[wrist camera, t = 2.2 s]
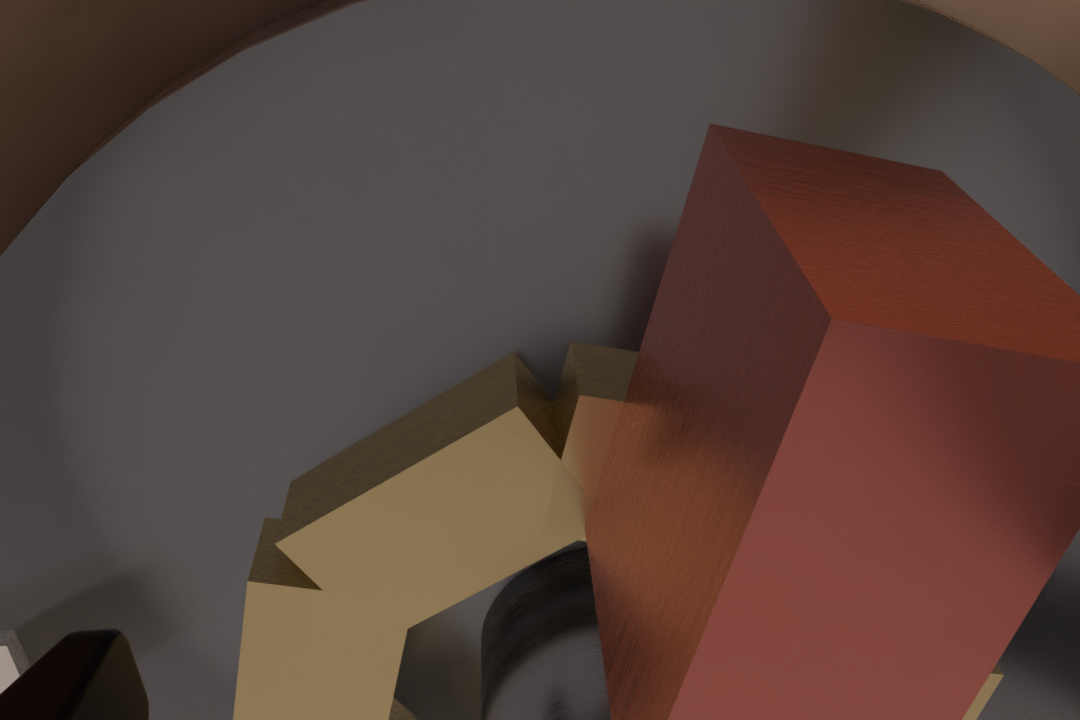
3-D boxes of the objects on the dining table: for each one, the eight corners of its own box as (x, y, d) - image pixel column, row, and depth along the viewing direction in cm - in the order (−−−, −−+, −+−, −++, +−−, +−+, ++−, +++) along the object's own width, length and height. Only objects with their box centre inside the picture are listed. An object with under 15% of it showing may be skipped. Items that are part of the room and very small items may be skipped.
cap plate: (1324, 678, 18) (1520, 891, 15) (447, 1032, 23) (443, 1259, 19) (940, -475, 10) (1193, -596, 6) (-350, 459, 14) (-614, 686, 11)
